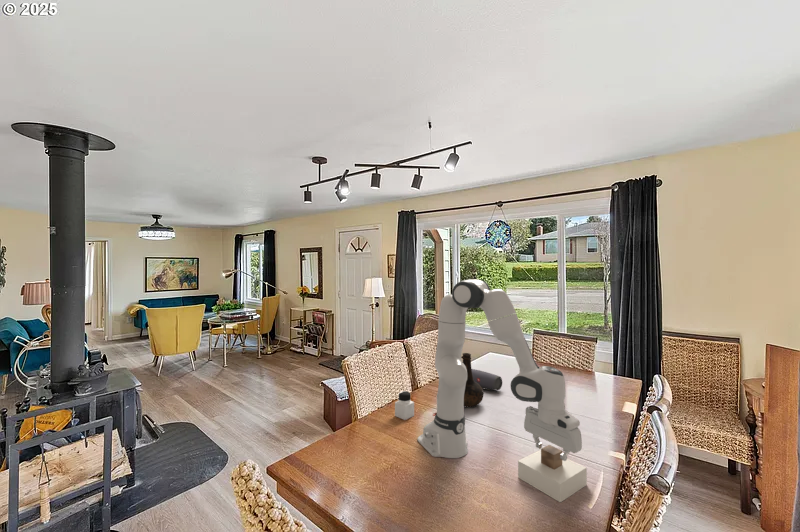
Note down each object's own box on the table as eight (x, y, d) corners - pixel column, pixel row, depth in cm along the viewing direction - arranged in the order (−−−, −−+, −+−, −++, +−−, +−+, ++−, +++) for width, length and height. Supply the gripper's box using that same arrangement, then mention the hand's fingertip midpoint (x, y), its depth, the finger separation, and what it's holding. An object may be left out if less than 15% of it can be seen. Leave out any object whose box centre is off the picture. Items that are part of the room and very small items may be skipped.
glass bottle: (478, 398, 200) (478, 349, 200) (487, 411, 182) (487, 357, 182) (448, 398, 199) (448, 349, 200) (453, 411, 182) (453, 357, 182)
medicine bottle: (414, 415, 176) (414, 392, 176) (405, 420, 171) (405, 396, 171) (404, 411, 181) (404, 388, 181) (394, 416, 176) (394, 392, 176)
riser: (518, 477, 124) (518, 460, 124) (544, 463, 133) (544, 447, 133) (560, 502, 111) (560, 483, 111) (586, 485, 120) (586, 467, 120)
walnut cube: (541, 462, 123) (541, 448, 123) (549, 458, 126) (549, 444, 126) (554, 469, 119) (554, 455, 119) (562, 465, 122) (562, 450, 122)
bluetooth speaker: (463, 384, 223) (463, 369, 223) (472, 381, 230) (472, 366, 230) (494, 394, 207) (494, 377, 207) (502, 390, 213) (502, 374, 213)
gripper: (520, 406, 129) (520, 443, 129) (574, 427, 112) (573, 470, 112) (531, 402, 133) (530, 438, 133) (584, 423, 116) (584, 464, 116)
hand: (550, 453), depth 122 cm, fingers open, 8 cm apart
